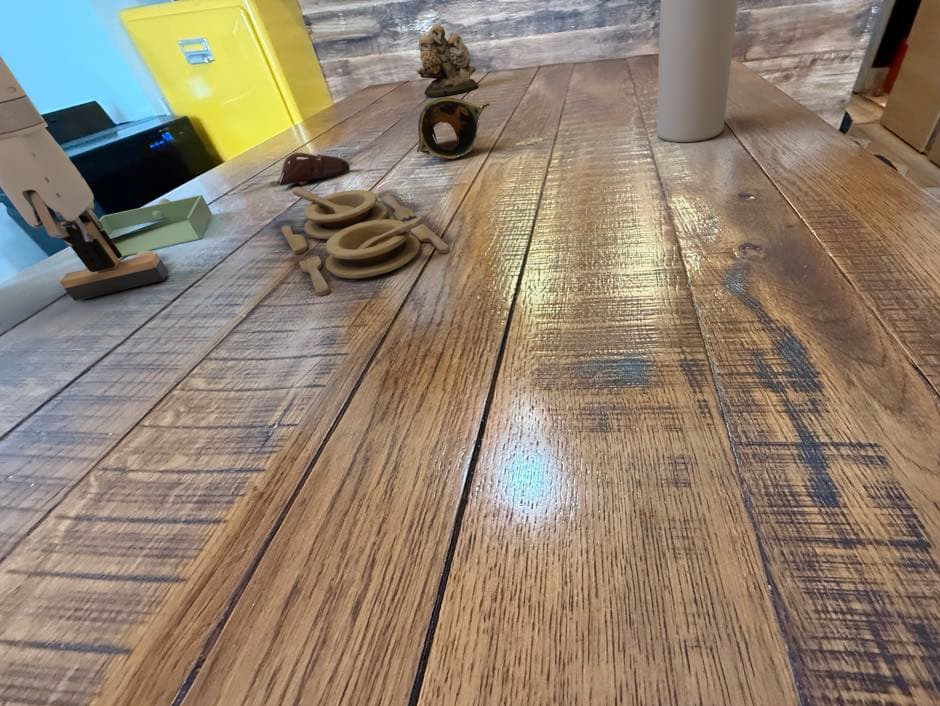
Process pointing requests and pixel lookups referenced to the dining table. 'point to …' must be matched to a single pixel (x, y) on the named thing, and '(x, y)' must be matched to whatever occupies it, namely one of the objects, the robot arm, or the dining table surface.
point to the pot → (455, 114)
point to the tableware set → (358, 235)
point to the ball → (143, 253)
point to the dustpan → (159, 224)
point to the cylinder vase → (694, 67)
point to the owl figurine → (445, 64)
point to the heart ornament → (310, 168)
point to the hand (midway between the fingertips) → (106, 263)
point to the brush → (113, 273)
